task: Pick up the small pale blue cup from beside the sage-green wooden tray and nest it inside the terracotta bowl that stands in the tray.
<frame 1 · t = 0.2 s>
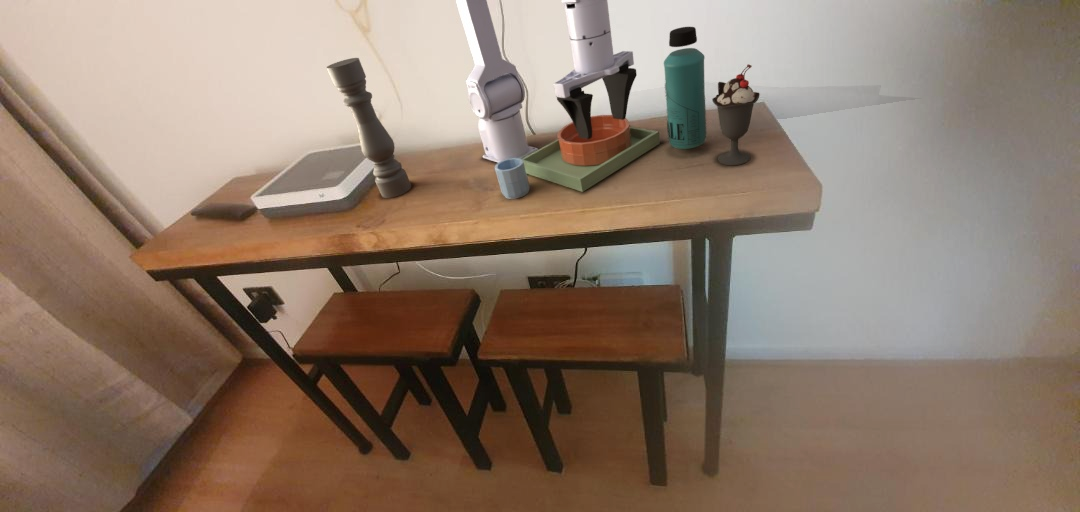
hand: (602, 127, 74), 10 cm above the table, tool pointing down, fingers open, 7 cm apart
pale blue cup: (516, 192, 85), on the table
candle holder: (396, 191, 97), on the table
beverage bottle: (687, 150, 85), on the table
tray: (589, 158, 90), on the table
big bowl: (596, 153, 91), resting on tray
sundae: (734, 159, 78), on the table
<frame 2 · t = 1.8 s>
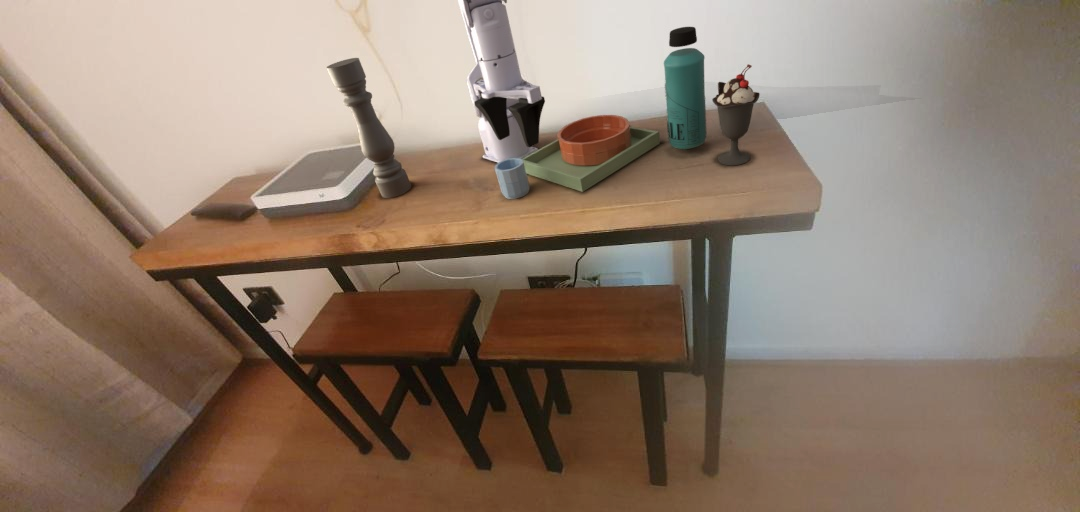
hand: (518, 141, 79), 9 cm above the table, tool pointing down, fingers open, 7 cm apart
nothing on the table moved.
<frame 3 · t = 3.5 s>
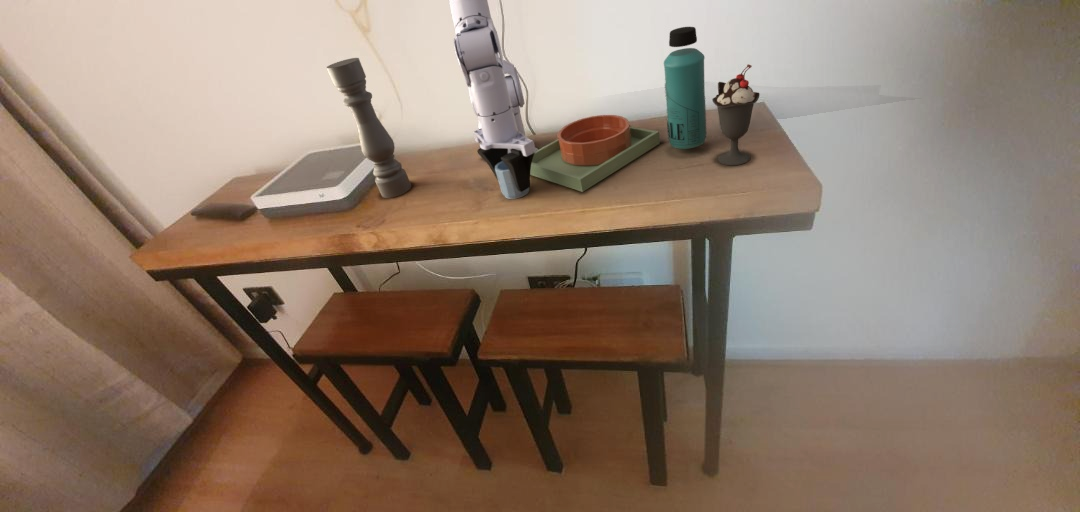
hand: (514, 185, 84), 1 cm above the table, tool pointing down, fingers closed on pale blue cup, 5 cm apart
pale blue cup: (516, 192, 85), on the table, touching gripper
everything else where it was.
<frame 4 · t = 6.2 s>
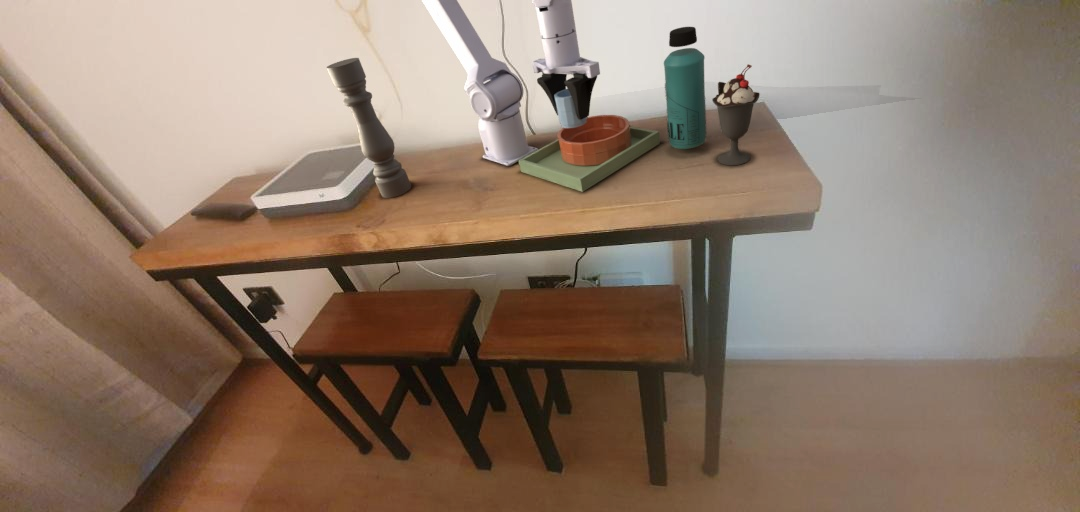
hand: (572, 115, 85), 9 cm above the table, tool pointing down, fingers closed on pale blue cup, 5 cm apart
pale blue cup: (574, 123, 86), point 8 cm above the table, touching gripper
everything else where it was.
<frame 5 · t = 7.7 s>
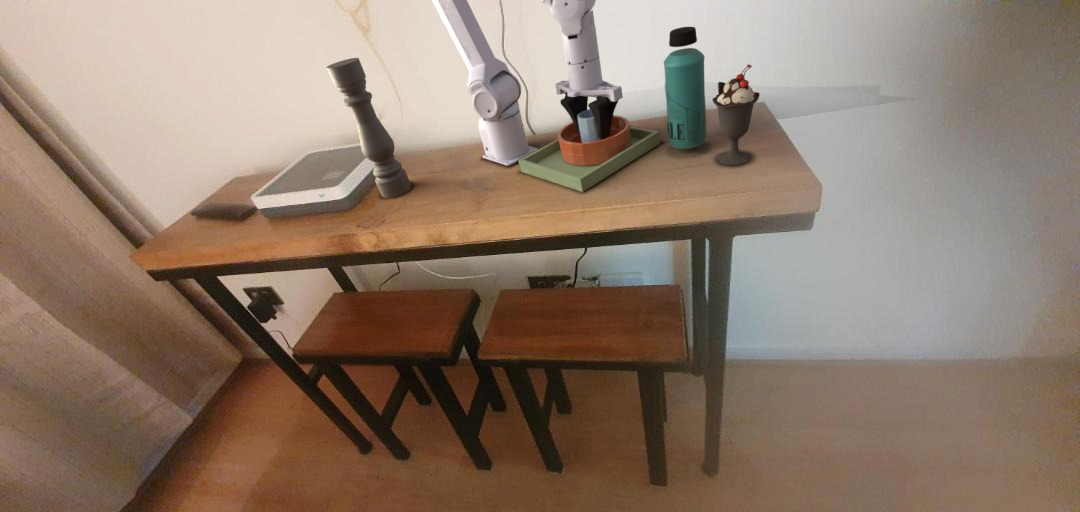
hand: (593, 134, 89), 4 cm above the table, tool pointing down, fingers closed on pale blue cup, 5 cm apart
pale blue cup: (595, 142, 90), point 2 cm above the table, touching gripper
everything else where it was.
when the fingers open (2 cm above the table, at t = 8.8 s): pale blue cup stays where it is, resting on big bowl.
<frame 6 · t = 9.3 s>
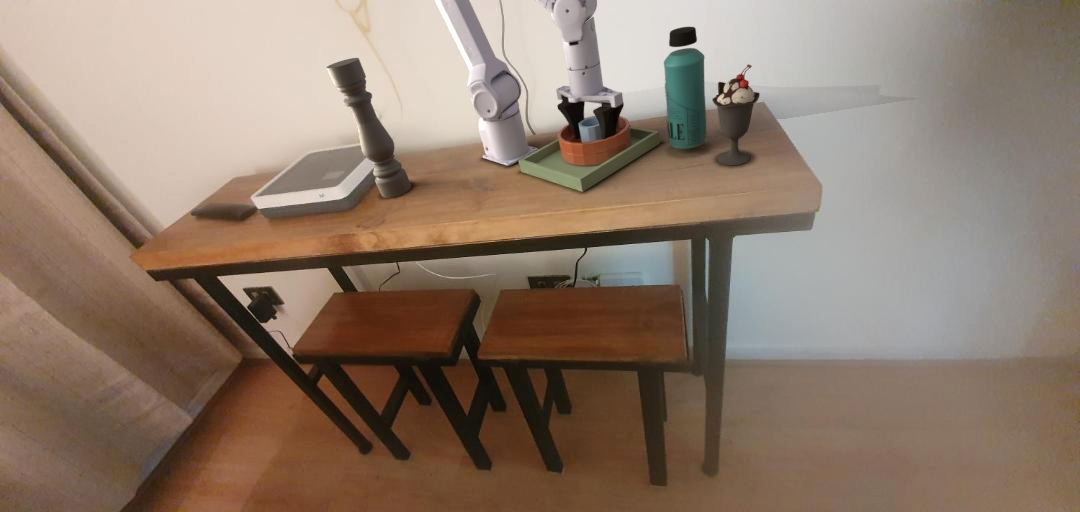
hand: (594, 139, 90), 3 cm above the table, tool pointing down, fingers open, 7 cm apart
pale blue cup: (596, 149, 91), point 1 cm above the table, touching big bowl
everything else where it was.
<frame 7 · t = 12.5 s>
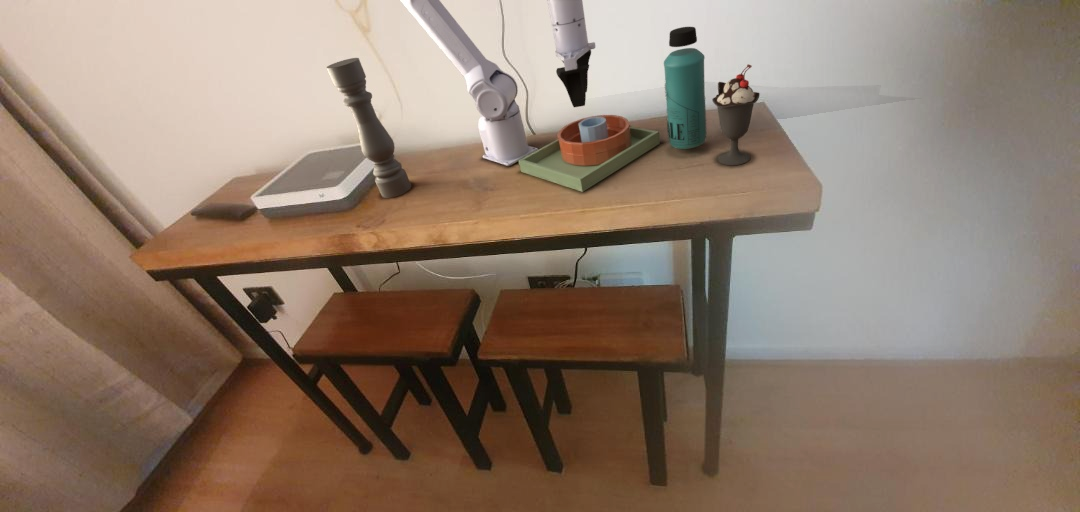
hand: (580, 99, 90), 9 cm above the table, tool pointing down, fingers open, 7 cm apart
nothing on the table moved.
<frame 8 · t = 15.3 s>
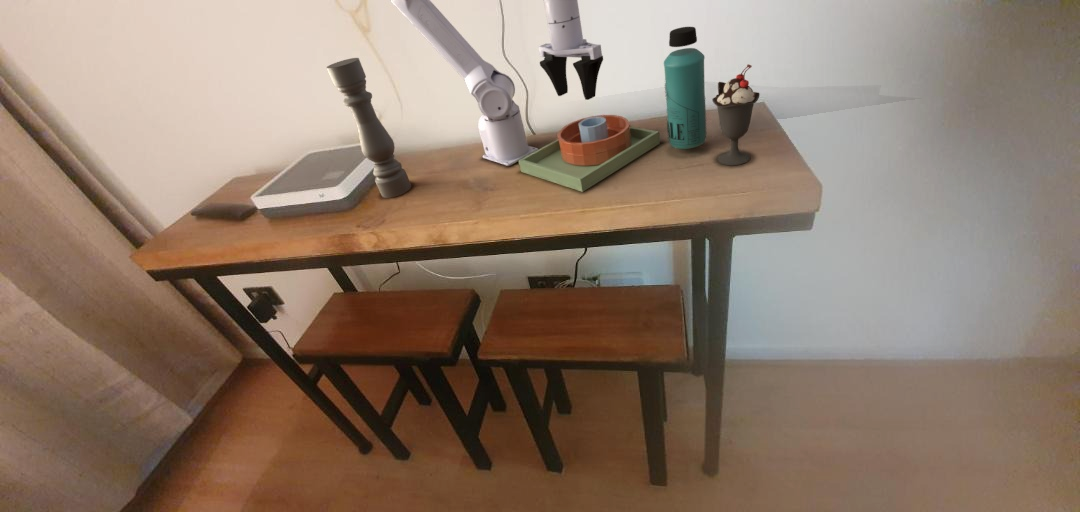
hand: (576, 96, 92), 9 cm above the table, tool pointing down, fingers open, 7 cm apart
nothing on the table moved.
at the end: pale blue cup 0.1 cm off-centre in the big bowl, point 0.8 cm above the big bowl's base; pale blue cup tilted 0°; the gripper is holding nothing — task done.
